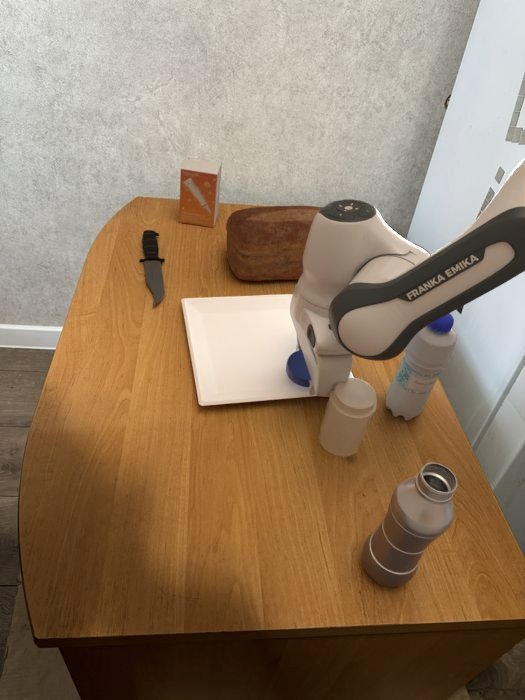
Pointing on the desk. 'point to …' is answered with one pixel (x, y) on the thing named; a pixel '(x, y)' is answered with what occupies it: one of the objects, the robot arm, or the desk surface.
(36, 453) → the desk surface
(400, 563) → the silver ringed container
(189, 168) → the small box
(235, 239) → the bread
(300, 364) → the lid
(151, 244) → the knife
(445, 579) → the desk surface
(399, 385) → the bottle
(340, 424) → the jar
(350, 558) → the desk surface
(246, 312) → the plate
